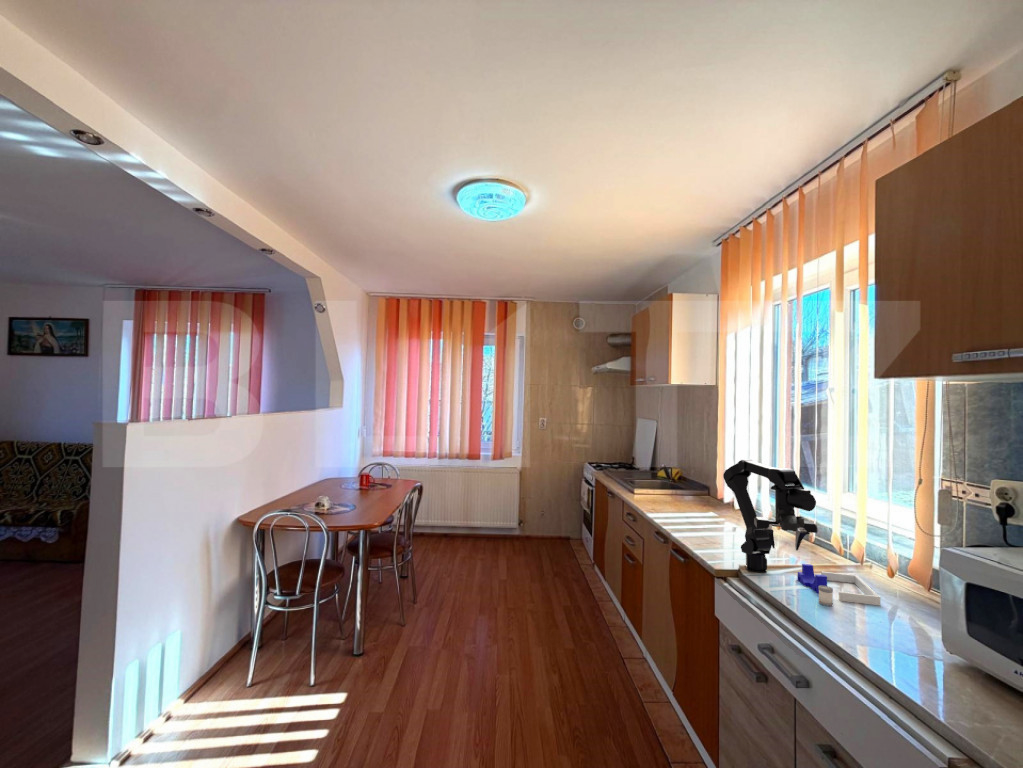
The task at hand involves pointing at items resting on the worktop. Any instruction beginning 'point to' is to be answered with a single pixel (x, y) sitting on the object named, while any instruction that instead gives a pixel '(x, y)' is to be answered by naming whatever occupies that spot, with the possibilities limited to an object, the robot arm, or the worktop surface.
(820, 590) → the grey cylinder
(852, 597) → the parts tray
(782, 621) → the worktop surface
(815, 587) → the cable clip
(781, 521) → the robot arm
